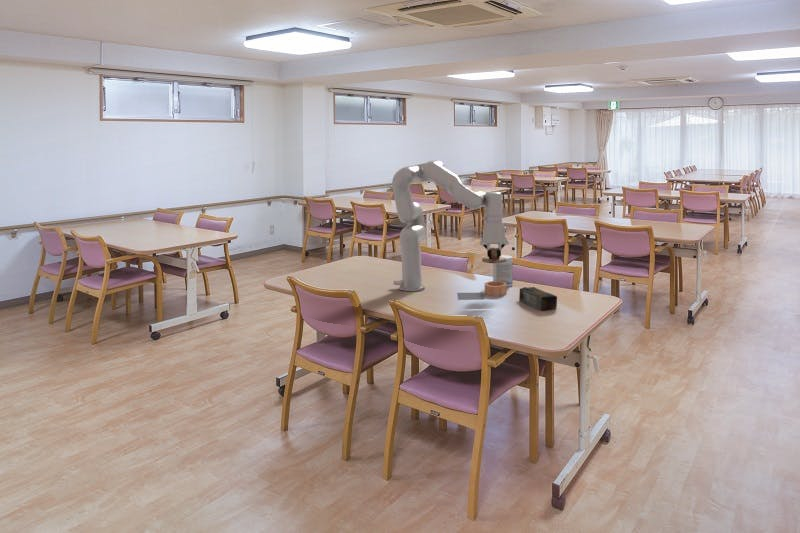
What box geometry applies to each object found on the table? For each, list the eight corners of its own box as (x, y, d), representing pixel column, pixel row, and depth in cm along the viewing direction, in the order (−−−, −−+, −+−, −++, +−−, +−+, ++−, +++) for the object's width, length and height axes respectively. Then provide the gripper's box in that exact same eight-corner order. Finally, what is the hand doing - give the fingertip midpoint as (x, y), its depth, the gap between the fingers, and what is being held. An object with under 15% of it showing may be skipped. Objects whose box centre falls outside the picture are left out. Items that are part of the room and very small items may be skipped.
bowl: (485, 297, 281) (485, 286, 280) (484, 291, 291) (484, 281, 290) (507, 296, 281) (507, 286, 280) (505, 291, 290) (505, 281, 289)
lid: (482, 263, 277) (482, 250, 276) (481, 258, 288) (481, 246, 286) (507, 263, 276) (507, 250, 275) (504, 258, 287) (504, 245, 285)
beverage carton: (533, 298, 277) (534, 285, 276) (557, 310, 259) (558, 295, 258) (518, 300, 274) (518, 286, 273) (541, 312, 257) (541, 297, 255)
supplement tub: (516, 286, 300) (516, 256, 296) (502, 289, 295) (502, 259, 291) (503, 282, 308) (503, 254, 304) (488, 285, 303) (489, 256, 299)
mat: (457, 300, 276) (457, 299, 276) (457, 293, 288) (457, 292, 288) (484, 300, 276) (484, 299, 275) (482, 293, 287) (482, 292, 287)
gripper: (476, 220, 275) (476, 260, 279) (512, 219, 273) (512, 259, 277) (475, 218, 282) (475, 256, 286) (511, 217, 281) (511, 256, 285)
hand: (494, 257), depth 282 cm, fingers closed on lid, 3 cm apart
